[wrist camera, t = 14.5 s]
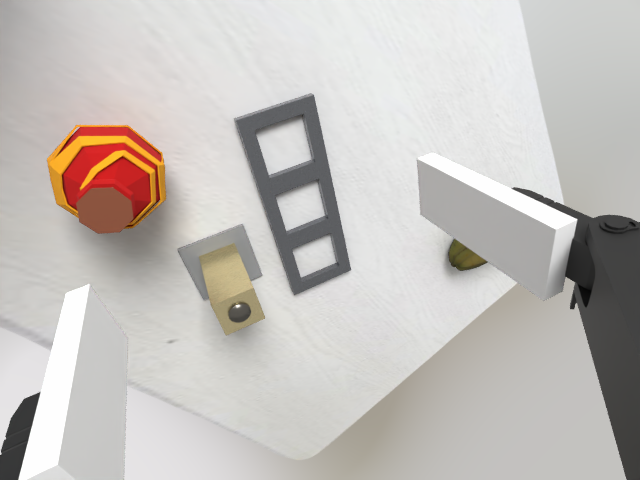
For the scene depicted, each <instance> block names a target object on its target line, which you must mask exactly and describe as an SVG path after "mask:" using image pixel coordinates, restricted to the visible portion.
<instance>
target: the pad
mask: <svg viewBox="0 0 640 480" xmlns="http://www.w3.org/2000/svg"><path fill="white" fill-rule="evenodd" d="M232 243H235V246H236V248H237V250H238V253H239V255H240V257H241V260H242V262H243V264H244V267H245V269H246V271H247V274H248V276H249V279H250V280H252V279H255V278H257V277H259V276H262V273H261V270H260V268H259V265H258V262H257V260H256V257H255V255H254V252H253V249H252V247H251V244H250V242H249V239H248V236H247V234H246V231H245V229H244V226H243V224H241V225H238V226H236V227H233V228H230V229H228V230H225V231H223V232H220V233H218V234H215V235H212V236H210V237H207V238H205V239H202V240H200V241H197V242H194V243H192V244H189V245H187V246H184V247H182V248H179V249H178V252H179V254H180V255H181V257H182V259H183V261H184V263H185V265H186V267H187V269H188V271H189V273H190V275H191V277H192V278H193V280H194V282H195V284H196V286H197V288H198V290H199V292H200V294H201V296H202V298H203V300H205V299H207V298H209V295H208V291H207V287H206V283H205V279H204V275H203V271H202V267H201V263H200V259H199V256H201V255H204V254H206V253H209V252H212V251H214V250H217V249H219V248H222V247H225V246H227V245H230V244H232Z"/></svg>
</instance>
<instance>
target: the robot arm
mask: <svg viewBox="0 0 640 480" xmlns="http://www.w3.org/2000/svg"><path fill="white" fill-rule="evenodd" d="M417 167H418V183H419V198H420V214H421V215H422V216H423V217H425V218H426V219H428V220H429V221H430V222H432V223H433V224H435V225H436V226H438V227H439V228H440V229H442V230H443V231H445V232H446V233H447V234H449V235H450V236H452V237H453V238H455V239H456V240H457V241H459V242H460V243H462V244H463V245H465V246H466V247H467V248H469V249H470V250H472V251H473V252H475V253H476V254H477V255H479V256H480V257H482V258H483V259H485V260H486V261H487V262H489V263H490V264H492V265H493V266H494V267H496V268H497V269H499V270H500V271H502V272H503V273H504V274H506V275H507V276H509V277H510V278H512V279H513V280H514V281H516V282H517V283H519V284H520V285H522V286H523V287H525V288H526V289H527V290H529V291H530V292H532V293H533V294H534V295H536V296H537V297H539V298H540V299H542V300H543V301H545V300H547V299H549V298H551V297H553V296H555V295H556V294H558V293H560V292H562V291H563V286H564V282H565V277H567V278H569V279H571V280H572V281H574V282H575V286H574V290H573V294H572V299H571V303H570V309H574V307H575V304H576V303H577V304H578V308H579V311H580V315H581V318H582V322H583V326H584V329H585V333H586V336H587V340H588V344H589V347H590V350H591V354H592V358H593V361H594V365H595V369H596V372H597V376H598V379H599V383H600V386H601V390H602V394H603V397H604V400H605V404H606V408H607V411H608V415H609V419H610V422H611V426H612V429H613V433H614V436H615V440H616V444H617V447H618V451H619V454H620V458H621V461H622V465H623V468H624V472H625V476H626V479H627V480H640V222H637V221H635V220H632V219H631V218H627V217H623V216H617V215H603V216H598V217H596V218H591V217H589V216H587V215H584V214H582V213H580V212H577V211H575V210H573V209H571V208H568V207H566V206H564V205H562V204H560V203H557V202H556V203H555V202H554V201H553V200H551V199H548V198H544V197H543V196H542V195H539V194H537V193H535V192H533V191H530V190H525V189H520V188H515V187H514V188H512V189H510V188H508V187H506V186H504V185H502V184H500V183H497V182H495V181H493V180H491V179H489V178H487V177H484V176H482V175H480V174H478V173H476V172H474V171H472V170H469V169H467V168H465V167H463V166H461V165H459V164H456V163H454V162H452V161H450V160H448V159H446V158H443V157H441V156H439V155H437V154H435V153H433V152H432V153H430V154H427V155H425V156H422V157H419V158H417ZM127 359H128V337H127V335H126V334H125V333H124V331H123V330H122V328H121V327H120V326H119V324H118V323H117V321H116V320H115V319H114V317H113V316H112V314H111V313H110V312H109V310H108V309H107V308H106V306H105V305H104V303H103V302H102V301H101V299H100V298H99V296H98V295H97V294H96V292H95V291H94V289H93V288H92V287H91V285H90V284H88V285H86V286H83V287H81V288H78V289H75V290H73V291H70V292H68V293H66V296H65V300H64V304H63V308H62V312H61V315H60V319H59V323H58V327H57V331H56V335H55V339H54V343H53V347H52V351H51V355H50V358H49V363H48V366H47V370H46V374H45V378H44V382H43V386H42V390H41V392H39V393H37V394H35V395H32V396H30V397H28V398H25V399H24V400H23V401H22V403H21V404H20V406H19V407H18V409H17V410H16V412H15V413H14V415H13V416H12V418H11V420H10V424H9V427H8V430H7V433H6V440H4V443H3V446H2V449H1V453H2V455H0V480H124V466H125V465H124V464H125V430H126V395H127Z"/></svg>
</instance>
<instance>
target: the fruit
mask: <svg viewBox="0 0 640 480" xmlns="http://www.w3.org/2000/svg"><path fill="white" fill-rule="evenodd" d="M449 261H450V263H451V266H453V267H456V268H457V269H458V270H460V271H463V270H469V269H473V268H476V267H479V266H481V265H483V264H485V263H487V261H486V260H485V259H483V258H482V257H480V256H479V255H477V254H476V253H475V252H473V251H472V250H470V249H469V248H467V247H466V246H465V245H463V244H462V243H460V242H459V241H457V240H456V239H454V241H453V243H452V245H451V248H450V251H449Z"/></svg>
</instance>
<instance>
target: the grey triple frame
mask: <svg viewBox="0 0 640 480" xmlns="http://www.w3.org/2000/svg"><path fill="white" fill-rule="evenodd" d="M301 114H302V117H303V121H304V125H305V130H306V134H307V138H308V142H309V147H310V151H311V155H312V159H313V160H310V161H307V162H304V163H302V164H299V165H296V166H294V167H291V168H288V169H285V170H283V171H280V172H277V173H274V174H272V175H268V172H267V168H266V165H265V162H264V159H263V156H262V152H261V149H260V146H259V143H258V140H257V137H256V133H255V130H256V129H259V128H262V127H265V126H268V125H271V124H274V123H277V122H280V121H283V120H286V119H289V118H292V117H295V116H298V115H301ZM234 120H235V123H236V126H237V129H238V132H239V134H240V137H241V140H242V143H243V146H244V149H245V152H246V155H247V158H248V161H249V164H250V167H251V170H252V173H253V176H254V179H255V182H256V185H257V188H258V191H259V194H260V197H261V200H262V203H263V206H264V209H265V212H266V214H267V217H268V220H269V223H270V226H271V229H272V232H273V235H274V238H275V241H276V244H277V247H278V250H279V253H280V256H281V259H282V262H283V265H284V268H285V271H286V274H287V277H288V280H289V283H290V286H291V289H292V291H293V293H294V295H295V294H298V293H300V292H302V291H304V290H307V289H309V288H311V287H313V286H316V285H318V284H320V283H322V282H325V281H327V280H329V279H331V278H334V277H336V276H338V275H341V274H343V273H345V272H347V271H350V270H351V267H350V263H349V258H348V253H347V248H346V244H345V239H344V234H343V230H342V225H341V220H340V215H339V211H338V206H337V201H336V197H335V192H334V187H333V183H332V178H331V173H330V168H329V164H328V159H327V154H326V150H325V145H324V140H323V135H322V131H321V126H320V121H319V117H318V112H317V107H316V103H315V98H314V95H313V94H308V95H305V96H302V97H299V98H296V99H293V100H289V101H286V102H283V103H280V104H277V105H274V106H271V107H268V108H265V109H262V110H259V111H256V112H253V113H250V114H247V115H244V116H241V117H238V118H235V119H234ZM314 180H318V185H319V189H320V193H321V197H322V202H323V206H324V210H325V214H326V216H324V217H321V218H319V219H316V220H314V221H311V222H309V223H306V224H304V225H301V226H299V227H296V228H294V229H291V230H289V231H286V229H285V226H284V223H283V220H282V216H281V213H280V210H279V207H278V204H277V200H276V197H275V195H277V194H280V193H283V192H285V191H288V190H290V189H293V188H296V187H298V186H301V185H304V184H306V183H309V182H311V181H314ZM329 233H330V236H331V240H332V244H333V248H334V252H335V257H336V261H337V263H335V264H332V265H330V266H328V267H326V268H323V269H321V270H319V271H316V272H314V273H312V274H309V275H307V276H305V277H302V278H301V277H300V274H299V271H298V268H297V264H296V261H295V258H294V255H293V252H292V249H293V248H295V247H298V246H300V245H303V244H305V243H307V242H310V241H312V240H315V239H317V238H319V237H322V236H324V235H327V234H329Z"/></svg>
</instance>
